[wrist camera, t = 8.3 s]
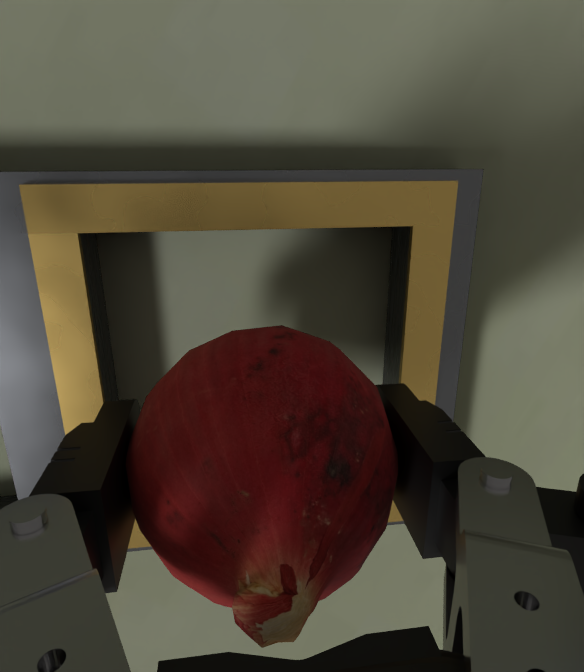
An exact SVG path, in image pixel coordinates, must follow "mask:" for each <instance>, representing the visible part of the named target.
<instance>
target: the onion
mask: <svg viewBox="0 0 584 672" xmlns="http://www.w3.org/2000/svg"><path fill="white" fill-rule="evenodd" d="M125 466H126V472H127V478H128V485H129V491H130V497H131V504H132V510H133V514H134V516H135V519H136V521H137V524H138V527H139V529H140V531H141V532H142V534H143V535H144V537H145V538H146V540H147V541H148V542H149V544H150V545H151V547H152V548H153V549H154V551H155V552H156V554H157V555H158V556H159V558H160V559H161V561H162V562H163V563H164V565H165V566H166V567H167V569H168V570H169V571H170V572H171V574H172V575H173V576H174V577H175V578H177V579H178V580H180V581H181V582H182V583H184V584H185V585H187V586H188V587H190V588H192V589H193V590H195V591H196V592H198V593H200V594H201V595H203V596H204V597H206V598H207V599H209V600H211V601H212V602H214V603H216V604H220V605H223V606H227V607H232V609H233V614H234V619H235V623H236V624H237V625H238V626H239V627H240V628H241V629H242V630H243V631H244V632H245V633H246V634H247V635H248V636H249V637H250V638H251V639H253V640H254V641H255V642H256V643H257V644H258V645H259V646H261V647H262V648H263V647H266V646H269V645H272V644H275V643H277V642H294V641H295V640H296V638H297V637H298V636H299V634H300V632H301V630H302V628H303V626H304V624H305V622H306V620H307V618H308V617H309V616H310V614H311V613H312V612H313V611H314V609H315V607H316V605H317V603H318V601H320V600H322V599H325V598H326V597H327V596H329V595H330V594H332V593H333V592H334V591H336V590H337V589H338V588H340V587H341V586H342V585H344V584H345V583H347V582H348V581H349V580H351V579H352V578H353V577H354V576H355V575H356V573H357V572H358V571H359V570H360V568H361V567H362V565H363V563H364V562H365V560H366V558H367V557H368V555H369V554H370V552H371V551H372V549H373V548H374V546H375V544H376V543H377V541H378V540H379V538H380V537H381V535H382V534H383V532H384V531H385V529H386V526H387V523H388V519H389V515H390V511H391V506H392V501H393V496H394V491H395V486H396V480H397V475H398V452H397V449H396V445H395V442H394V439H393V435H392V432H391V429H390V426H389V422H388V419H387V416H386V413H385V409H384V406H383V403H382V400H381V397H380V394H379V391H378V388H377V387H376V386H375V385H374V384H373V383H372V382H371V381H370V380H369V379H368V378H367V377H366V376H365V374H364V373H363V372H362V371H361V370H360V369H359V368H358V367H357V366H356V365H355V364H354V363H353V362H352V361H351V360H350V359H349V358H348V357H347V356H346V355H345V354H344V353H343V352H342V351H341V350H340V349H338V348H337V347H336V346H335V345H333V344H332V343H331V342H330V341H327V340H324V339H321V338H318V337H315V336H312V335H309V334H306V333H303V332H300V331H297V330H294V329H291V328H288V327H285V326H282V325H281V326H272V327H263V328H254V329H245V330H236V331H231V332H229V333H227V334H224V335H222V336H220V337H218V338H216V339H213V340H211V341H209V342H207V343H205V344H202V345H200V346H198V347H196V348H194V349H191V350H189V351H188V352H187V353H186V354H185V355H184V356H183V357H182V358H181V359H180V360H179V361H178V362H177V363H176V364H175V365H174V366H173V367H172V368H171V369H170V370H169V371H168V372H167V373H166V374H165V375H164V376H163V377H162V378H161V380H160V381H159V382H158V383H157V384H156V385H155V386H154V388H153V389H152V390H151V392H150V393H149V394H148V395H147V397H146V399H145V402H144V405H143V407H142V410H141V412H140V415H139V417H138V420H137V423H136V425H135V428H134V430H133V433H132V435H131V438H130V441H129V446H128V451H127V456H126V463H125Z"/></svg>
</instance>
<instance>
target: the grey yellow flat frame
mask: <svg viewBox="0 0 584 672" xmlns="http://www.w3.org/2000/svg"><path fill="white" fill-rule="evenodd" d="M482 177H483V169H404V170H228V171H52V172H0V425H1V430H2V434H3V438H4V442H5V447H6V451H7V455H8V459H9V464H10V468H11V472H12V476H13V481H14V485H15V489H16V493H17V496H8V497H0V510H1V509H2V508H3V507H5V506H7V505H9V504H11V503H13V502H15V501H17V500H20V499H23V498H26V497H29V495H30V494H31V492H32V490H33V488H34V487H35V485H36V483H37V482H38V480H39V478H40V477H41V475H42V473H43V472H44V470H45V468H46V467H47V465H48V463H50V462H51V458H52V457H53V455H54V453H55V452H56V451H57V448H58V447H59V445H60V443H61V441H62V440H63V438H64V436H65V435H66V434H67V433H69V432H70V431H71V430H73V429H74V428H75V427H77V426H78V425H79V424H81V423H89V422H94V420H95V418H96V417H97V415H98V413H99V411H100V409H101V407H102V405H103V403H104V402H105V401H118V400H119V399H118V392H117V385H116V378H115V371H114V363H113V356H112V349H111V342H110V335H109V328H108V320H107V313H106V306H105V299H104V292H103V285H102V277H101V270H100V263H99V256H98V249H97V241H96V234H95V233H109V232H157V231H204V230H251V229H299V228H346V227H393V229H392V245H391V261H390V276H389V292H388V308H387V324H386V340H385V355H384V371H383V384H398V383H404V384H406V385H407V387H408V388H409V389H410V390H411V391H412V392H413V394H414V395H415V396H416V397H417V398H418V400H419V401H422V400H426V401H428V402H430V403H432V404H434V405H435V406H437V407H439V408H441V409H443V411H444V412H445V413H446V414H447V415H448V416H449V417H450V418H451V419H452V422H453V418H454V410H455V401H456V393H457V385H458V376H459V368H460V360H461V351H462V343H463V335H464V326H465V318H466V310H467V301H468V293H469V285H470V276H471V268H472V260H473V251H474V243H475V235H476V226H477V218H478V210H479V202H480V193H481V185H482ZM395 524H405V523H404V521H403V519H402V517H401V515H400V513H399V511H398V509H397V507H396V505H395V503H394V501H392V506H391V511H390V515H389V519H388V523H387V525H395ZM149 549H153V548H152V547H151V545H150V544H149V542H148V541H147V540H146V538H145V537H144V535H143V534H142V532H141V531H140V529H139V527H138V524H137V521H136V519H135V522H134V526H133V530H132V534H131V538H130V542H129V546H128V550H127V552H130V551H139V550H149Z"/></svg>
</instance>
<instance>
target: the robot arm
mask: <svg viewBox="0 0 584 672" xmlns="http://www.w3.org/2000/svg"><path fill="white" fill-rule="evenodd" d="M375 386H376V387H377V388H378V391H379V394H380V397H381V400H382V403H383V406H384V409H385V413H386V416H387V419H388V422H389V426H390V429H391V432H392V435H393V439H394V442H395V445H396V449H397V452H398V475H397V480H396V486H395V491H394V496H393V501H394V503H395V505H396V507H397V509H398V511H399V513H400V515H401V517H402V519H403V521H404V523H405V525H406V527H407V529H408V531H409V533H410V534H411V536H412V538H413V540H414V542H415V544H416V546H417V548H418V550H419V552H420V554H421V556H422V558H423V559H426V558H435V557H443V559H444V561H445V562H446V567H445V575H444V604H443V650H439V648H438V646H437V644H436V642H435V639H434V637H433V635H432V633H431V630H430V628H429V626H425V627H417V628H409V629H402V630H394V631H386V632H379V633H371V634H365V635H363V636H360V637H358V638H355V639H353V640H351V641H348V642H346V643H343V644H341V645H338V646H336V647H334V648H331V649H329V650H326V651H324V652H322V653H319V654H317V655H314V656H312V657H309V658H307V659H303V660H290V659H282V658H273V657H265V656H257V655H249V654H240V653H232V652H225V653H218V654H210V655H202V656H194V657H187V658H179V659H171V660H164V661H159V662H158V670H157V672H584V474H582V476H581V477H580V479H579V483H578V487H577V492H572V491H564V490H556V489H548V488H541V487H536V486H535V483H534V480H533V479H532V477H531V476H530V475H529V474H528V473H527V472H526V471H524V470H523V469H521V468H520V467H518V466H516V465H514V464H512V463H510V462H507V461H504V460H500V459H496V458H489V457H485V455H484V454H483V453H482V452H481V451H480V450H479V449H478V448H477V447H476V446H475V444H474V443H473V442H472V441H471V440H470V439H469V438H468V437H467V436H466V435H465V434H464V432H461V429H460V428H459V427H458V426H457V425H456V424H455V423H454V422H452V419H451V418H450V417H449V416H448V415H447V414H446V413H445V412H444V411H443V409H441V408H439V407H437V406H435V405H434V404H432V403H430V402H428V401H426V400H422V401H419V400H418V398H417V397H416V396H415V395H414V394H413V392H412V391H411V390H410V389H409V388H408V387H407V385H406V384H404V383H398V384H382V385H375ZM139 415H140V407H139V403H138V401H137V399H134V400H118V401H105V402H104V403H103V405H102V407H101V409H100V411H99V413H98V415H97V417H96V418H95V420H94V422H89V423H81V424H79V425H78V426H77V427H75V428H74V429H73V430H71V431H70V432H69V433H67V434H66V435H65V436H64V438H63V440H62V441H61V443H60V445H59V447H58V448H57V451H56V452H55V453H54V455H53V457H52V458H51V462H50V463H48V465H47V467H46V468H45V470H44V472H43V473H42V475H41V477H40V478H39V480H38V482H37V483H36V485H35V487H34V488H33V490H32V492H31V494H30V495H29V497H26V498H23V499H20V500H17V501H15V502H13V503H11V504H9V505H7V506H5V507H3V508H2V509H1V510H0V672H131V671H130V668H129V665H128V662H127V659H126V656H125V652H124V649H123V646H122V643H121V640H120V637H119V634H118V631H117V628H116V625H115V622H114V619H113V616H112V613H111V610H110V607H109V604H108V600H107V597H106V594H105V593H110V592H117V589H118V585H119V581H120V577H121V574H122V570H123V566H124V562H125V558H126V554H127V550H128V546H129V542H130V538H131V534H132V530H133V526H134V522H135V516H134V514H133V510H132V504H131V497H130V491H129V485H128V478H127V472H126V466H125V463H126V456H127V451H128V446H129V441H130V438H131V435H132V433H133V430H134V428H135V425H136V423H137V420H138V417H139Z"/></svg>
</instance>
